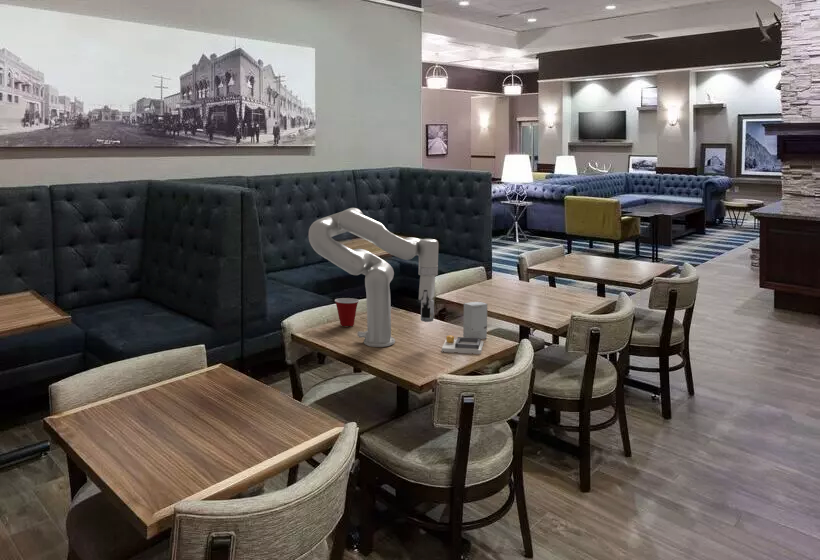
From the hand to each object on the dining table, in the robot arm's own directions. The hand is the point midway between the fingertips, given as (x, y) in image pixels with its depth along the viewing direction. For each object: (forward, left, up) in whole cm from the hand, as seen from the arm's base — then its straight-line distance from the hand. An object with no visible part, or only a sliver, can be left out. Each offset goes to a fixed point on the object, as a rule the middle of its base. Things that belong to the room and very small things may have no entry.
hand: (427, 315), depth 249 cm
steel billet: (0, 0, -2) cm, 2 cm away
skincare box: (+18, +12, -12) cm, 25 cm away
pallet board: (+15, -2, -12) cm, 19 cm away
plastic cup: (-39, +21, -12) cm, 46 cm away
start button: (+9, 0, -10) cm, 14 cm away
